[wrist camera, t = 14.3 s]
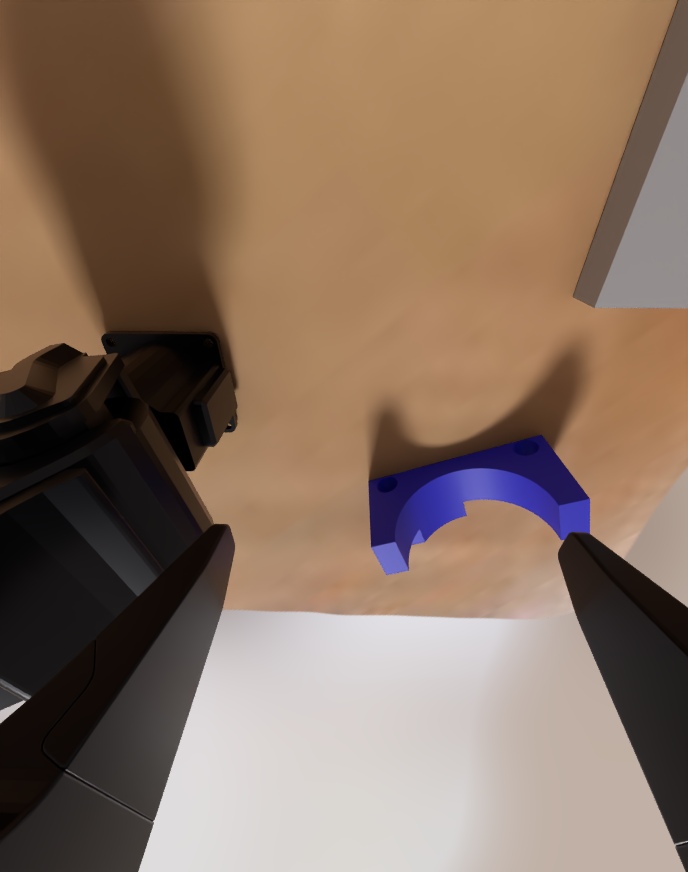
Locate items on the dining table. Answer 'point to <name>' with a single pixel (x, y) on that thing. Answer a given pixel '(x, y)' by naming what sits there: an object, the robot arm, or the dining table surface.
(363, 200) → the dining table surface
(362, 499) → the dining table surface
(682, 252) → the hitch block
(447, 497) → the blue arched block
